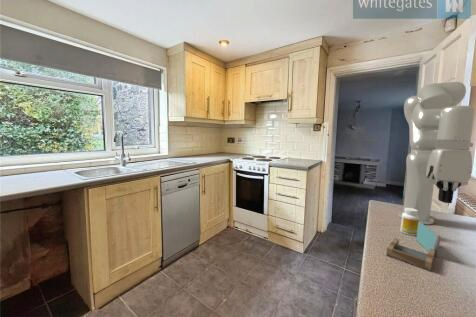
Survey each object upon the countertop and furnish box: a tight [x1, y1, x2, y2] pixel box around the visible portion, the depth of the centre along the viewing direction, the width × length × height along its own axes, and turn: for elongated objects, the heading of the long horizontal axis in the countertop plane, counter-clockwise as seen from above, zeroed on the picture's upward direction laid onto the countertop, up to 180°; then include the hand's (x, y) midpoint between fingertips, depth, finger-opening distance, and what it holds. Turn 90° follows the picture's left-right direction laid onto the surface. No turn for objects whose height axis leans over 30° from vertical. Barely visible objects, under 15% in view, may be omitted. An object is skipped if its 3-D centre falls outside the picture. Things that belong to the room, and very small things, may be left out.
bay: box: [386, 237, 435, 272], centre depth 67 cm, size 10×10×2 cm
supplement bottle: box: [399, 208, 419, 237], centre depth 83 cm, size 5×5×10 cm
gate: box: [416, 222, 441, 259], centre depth 71 cm, size 1×12×7 cm, turn 162°
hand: (444, 201), depth 69 cm, fingers closed
